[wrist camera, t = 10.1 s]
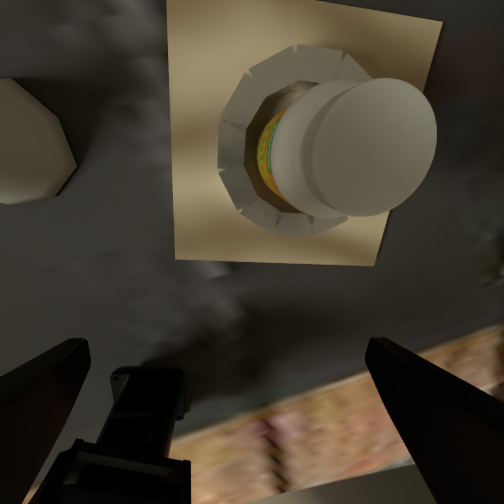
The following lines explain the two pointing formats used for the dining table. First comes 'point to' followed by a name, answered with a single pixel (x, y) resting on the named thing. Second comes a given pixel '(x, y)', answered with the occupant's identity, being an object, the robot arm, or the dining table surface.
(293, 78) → the steel ring collar
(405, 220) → the dining table surface
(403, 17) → the birch base plate
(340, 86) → the supplement bottle
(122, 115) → the dining table surface
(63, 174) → the flask
